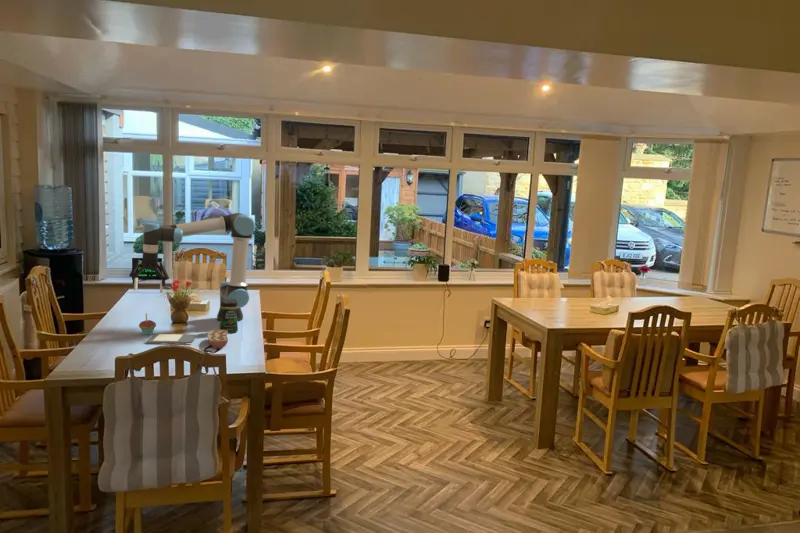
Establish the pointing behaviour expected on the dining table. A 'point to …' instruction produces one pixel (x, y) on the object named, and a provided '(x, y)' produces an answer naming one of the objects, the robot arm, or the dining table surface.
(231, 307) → the coffee jar
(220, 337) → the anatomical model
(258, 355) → the dining table surface
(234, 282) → the robot arm
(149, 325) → the cupcake
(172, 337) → the board
